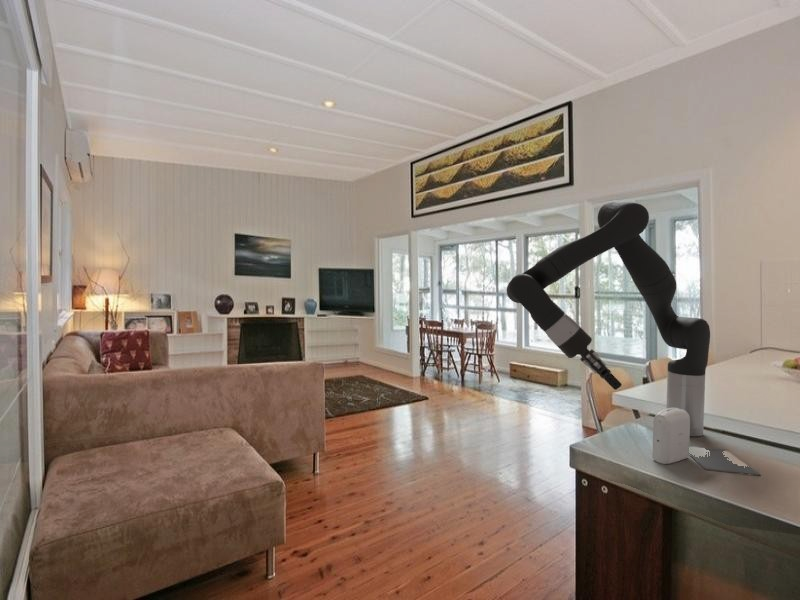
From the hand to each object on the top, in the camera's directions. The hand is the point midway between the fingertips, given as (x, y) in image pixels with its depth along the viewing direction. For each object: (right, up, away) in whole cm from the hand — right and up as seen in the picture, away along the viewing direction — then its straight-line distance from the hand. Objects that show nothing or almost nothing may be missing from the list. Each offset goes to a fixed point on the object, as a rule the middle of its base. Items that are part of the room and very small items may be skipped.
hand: (618, 387), depth 109 cm
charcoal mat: (+23, -17, -2) cm, 28 cm away
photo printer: (+11, -17, -3) cm, 21 cm away
